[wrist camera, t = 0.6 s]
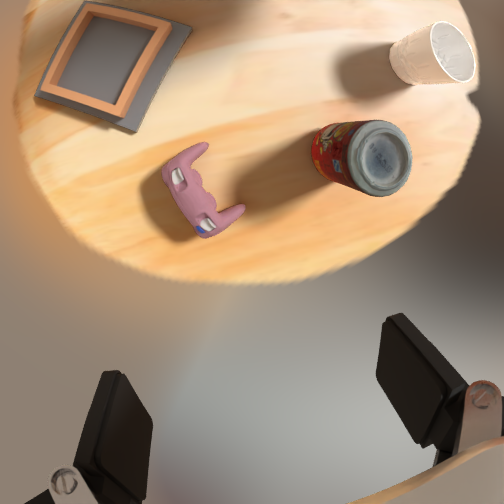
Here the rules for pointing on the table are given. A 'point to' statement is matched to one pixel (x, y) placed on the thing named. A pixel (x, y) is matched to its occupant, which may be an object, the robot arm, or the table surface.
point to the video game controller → (196, 194)
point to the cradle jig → (112, 62)
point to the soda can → (364, 156)
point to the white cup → (433, 56)
